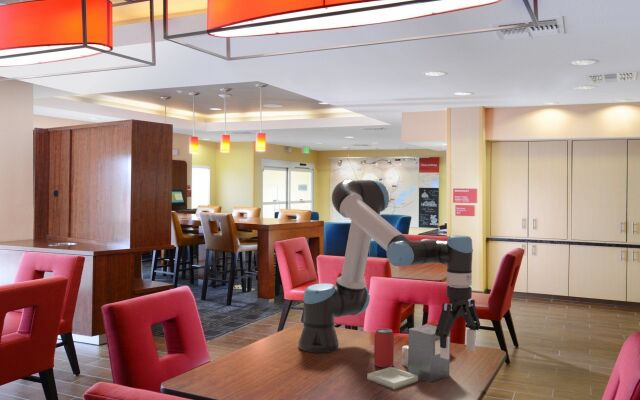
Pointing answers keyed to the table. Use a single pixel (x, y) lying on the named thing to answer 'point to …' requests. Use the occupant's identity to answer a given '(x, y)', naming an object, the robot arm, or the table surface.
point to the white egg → (405, 356)
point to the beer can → (384, 348)
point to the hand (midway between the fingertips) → (458, 354)
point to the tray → (392, 377)
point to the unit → (426, 354)
